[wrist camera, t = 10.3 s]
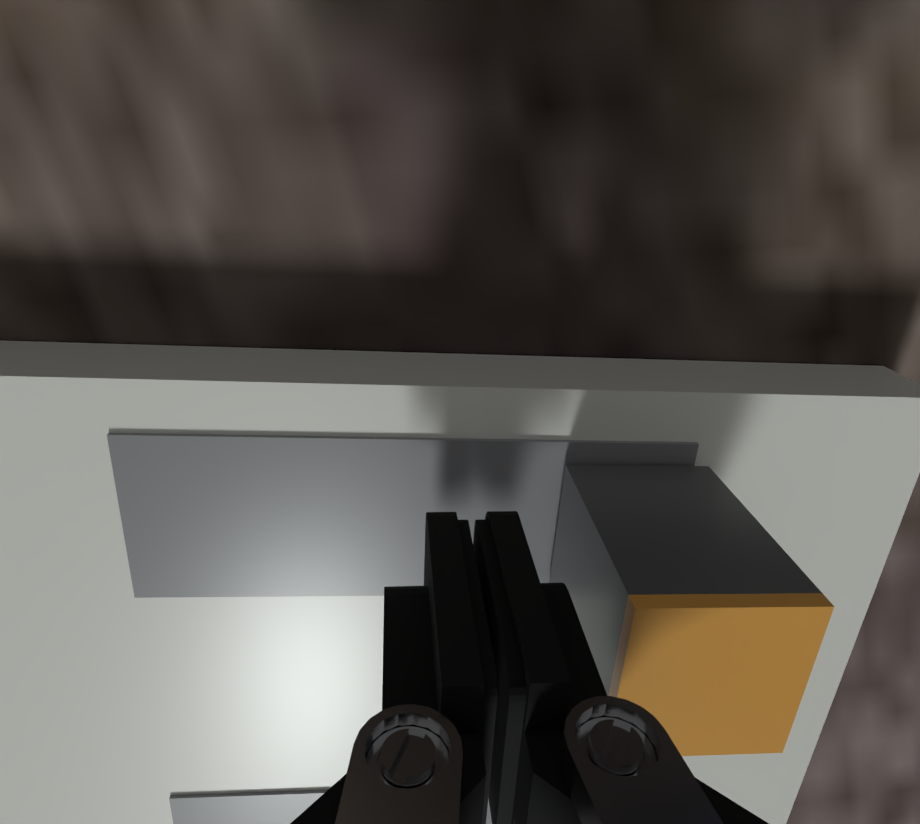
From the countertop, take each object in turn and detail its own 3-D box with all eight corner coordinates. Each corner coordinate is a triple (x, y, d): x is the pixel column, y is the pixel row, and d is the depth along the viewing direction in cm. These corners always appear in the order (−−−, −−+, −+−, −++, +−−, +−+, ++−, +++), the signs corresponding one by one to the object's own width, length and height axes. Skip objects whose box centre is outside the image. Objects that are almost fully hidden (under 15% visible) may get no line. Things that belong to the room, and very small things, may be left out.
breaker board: (883, 365, 16) (951, 400, 14) (732, 820, 22) (764, 888, 20) (-130, 336, 13) (-218, 372, 11) (30, 851, 20) (-10, 930, 18)
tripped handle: (708, 466, 14) (834, 606, 10) (680, 584, 15) (782, 753, 11) (565, 464, 13) (634, 608, 9) (549, 585, 14) (604, 758, 11)
